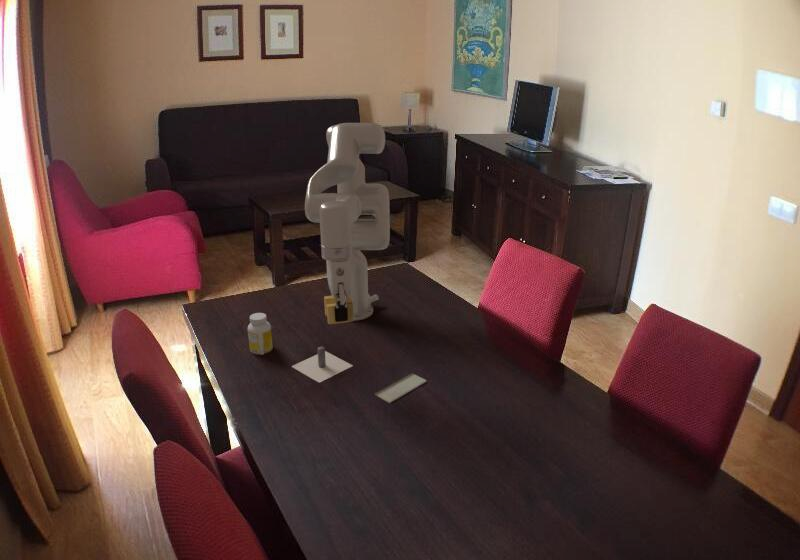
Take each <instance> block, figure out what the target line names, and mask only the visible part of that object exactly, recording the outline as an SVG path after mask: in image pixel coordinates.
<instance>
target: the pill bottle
mask: <svg viewBox="0 0 800 560" xmlns="http://www.w3.org/2000/svg"><path fill="white" fill-rule="evenodd" d="M267 320H268V318H267V314H266V313H263V312H256V313H252V314H250V316H249V322H250V323H249V324H248V326H247V335H248V337H247V338H248V343H249V345H248V346H249V351H250V353H249V354H250V355H251V354H253V355H257V356H261V355H262V356H263V355H267V354H270V353H271V352H273V349H274V347H273V337H272V336H273V335H272V326H271V323H270V322H269V321H267Z"/></svg>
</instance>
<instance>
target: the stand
mask: <svg viewBox="0 0 800 560" xmlns="http://www.w3.org/2000/svg"><path fill="white" fill-rule="evenodd" d="M291 367H292V368H293V369H295V370H297V372H298V371H299V373H301V374H303V375H304V376H307V377H308V378H310V379H312V380H314V381H316V383H322V382H324V381H325V380H327V379H330V378H332V377H334V376H335V375H338V374H340V373H341V372H344V371H345V370H348V369H350V368H352V367H354V365H353V364H352V363H349V362H348V361H346V360H343V359H341V358H339V357H338V356H335V355H334V354H332V353H330V352H328V351H326V348H325V347H324V346H319V347H317V354H315V355H313V356H310V357H309V358H307V359H304V360H302V361H300V362H297V363H296V364H294V365H291Z"/></svg>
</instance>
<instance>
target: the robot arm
mask: <svg viewBox="0 0 800 560" xmlns="http://www.w3.org/2000/svg"><path fill="white" fill-rule="evenodd" d="M325 134H326V137H325V138H326V143H327V146H328V154H327V163H325V164H324V165H322V166H321V167H319V169H318V170H317V171H316V172H315V173H314V174H313V175H312V176H311V177H310V179H309V180H308V183H307V187H306V192H305V200H304V213H305V217H306V219H307V220H308V221H310V222H311V223H319V229H320V244H321V245H320V248H321V251H320V252H321V258H322V259H323V260H325V262H326V275H327V276H326V277H327V284H328V285H327V286H328V288H329V291H330V296H333V297H334V298H335V305H336V307H335V321H336V322H342V321H347V320H348V312H347V302H346V294H347V296H350V298H351V300H352V303H353V318H354V321H355V322H356V321H363V320H366V319H368V318H369V317H371V316H372V315H373V314H374V307H373V305H371V304H372V303H374V302H376V301H379V298H380V297H379V296H378V295H379V294H373V295H370V294H369V285H368V283H369V281H368V280H369V279H368V275H369V273H368V261H367V258H366V256H365V255H364V253H362V251H382V250H385V249H387V248H388V247H389V244H390V235H391V231H390V229H391V228H390V226H391V225H390V223H391V222H390V220H391V219H390V214H391V213H390V212H391V211H390V194H389V193H390V192H389V189H388V187H386V185H384V184H382V183H366V168H365V165H364V163H363V162H362V160H361V159H360V154H361V155H362V154H363V155H364V154H371V155H372V154H373V155H374V154H377V155H380V154H381V153H383V151H384V149H385V146H386V145H385V144H386V133H385V129H384V127H383V125H381V124H379V123H374V122H342V123H338V124H334V125H331V126H330V127H328V128H327V130H326V133H325ZM333 186H337V188H336V189H337V193H336V192H324V191H325V190H327V189H329V188H331V187H333ZM362 215H363V216H365V215H369V216H370V215H371V216H373V217H374V219H373V218H371V219H370V218H365V219H363V218H359V217H360V216H362ZM337 295H339V296H337ZM337 298H340V301H338V300H337Z"/></svg>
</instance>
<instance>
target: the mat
mask: <svg viewBox="0 0 800 560" xmlns="http://www.w3.org/2000/svg"><path fill="white" fill-rule="evenodd" d="M425 383H427V379H424V378H422V377H420V376H419V375H417V374H415V373H413V372H409V373H408V374H406V375H405V376H402V377H400V378H399V379H397V380H395V381H394V382H392V383H390V384H388V385H386V386H385V387H383V388H381V389H379V390H377V391H376V392H374V393H373V395H374V396H376V397H378V398H379V399H380V400H383V401H385V402H387V403H388V404H391V403H392V402H394V401H396V400H398V399H400V398H401V397H403V396H404V395H406V394H408V393H411V391H413V390H415V389H416V388H418V387H420V386H422V385H423V384H425Z"/></svg>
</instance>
